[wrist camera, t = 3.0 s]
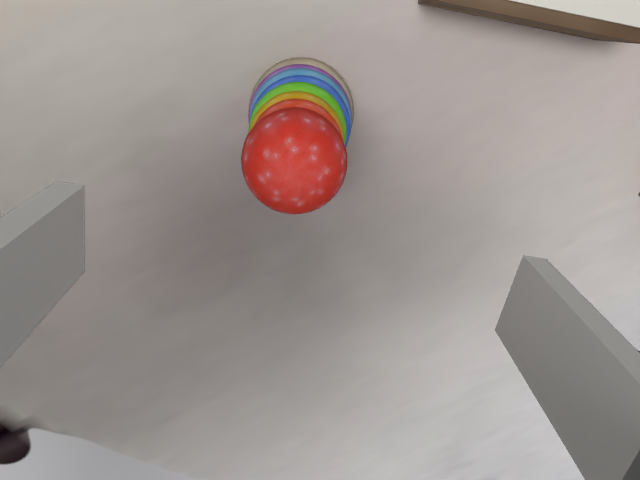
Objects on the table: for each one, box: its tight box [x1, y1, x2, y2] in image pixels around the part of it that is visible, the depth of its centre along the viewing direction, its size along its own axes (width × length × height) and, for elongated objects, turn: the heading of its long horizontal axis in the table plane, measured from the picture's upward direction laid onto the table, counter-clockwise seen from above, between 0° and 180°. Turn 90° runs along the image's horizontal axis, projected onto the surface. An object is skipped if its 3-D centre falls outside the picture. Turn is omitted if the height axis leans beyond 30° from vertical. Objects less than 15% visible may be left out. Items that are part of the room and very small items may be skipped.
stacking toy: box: [241, 58, 354, 214], centre depth 31 cm, size 8×8×19 cm
